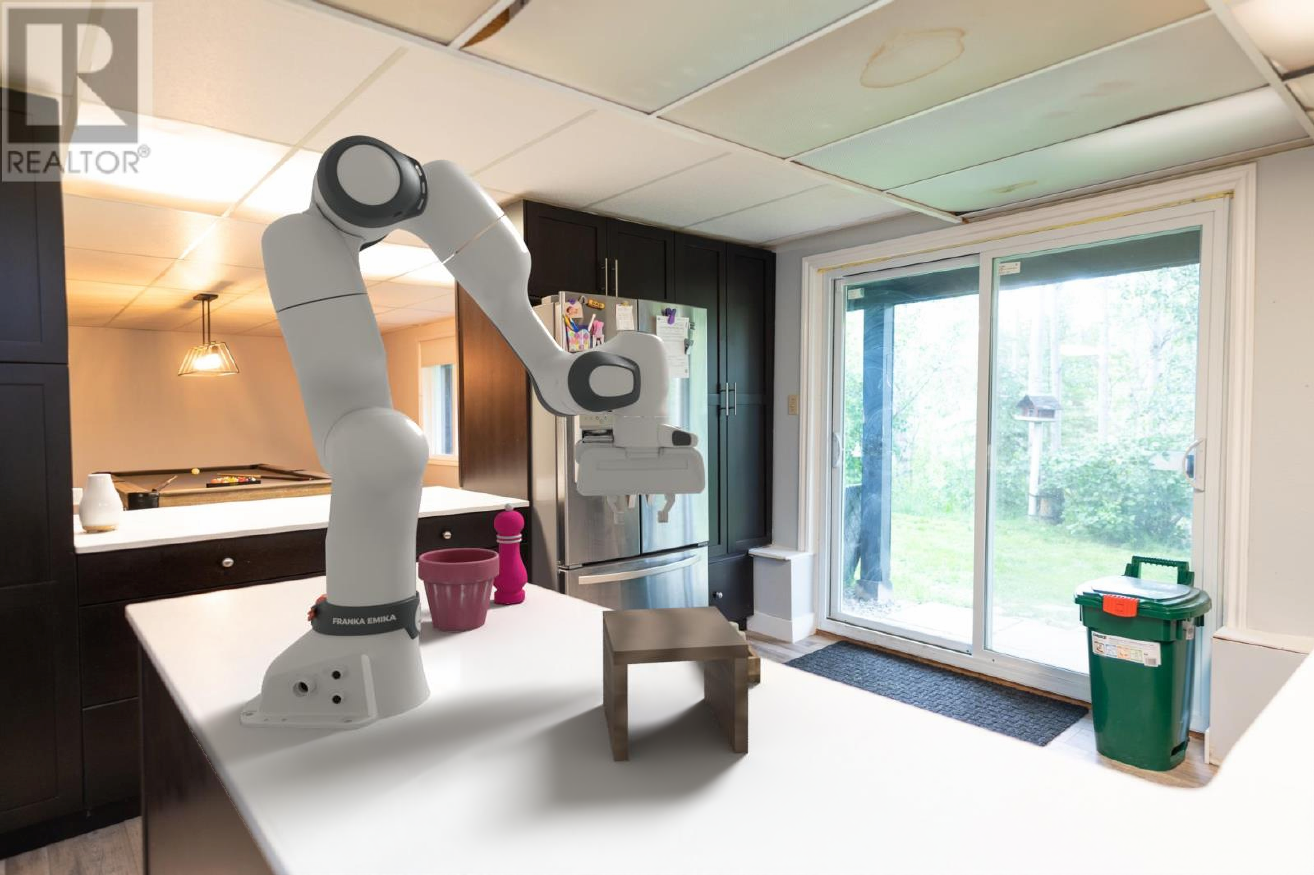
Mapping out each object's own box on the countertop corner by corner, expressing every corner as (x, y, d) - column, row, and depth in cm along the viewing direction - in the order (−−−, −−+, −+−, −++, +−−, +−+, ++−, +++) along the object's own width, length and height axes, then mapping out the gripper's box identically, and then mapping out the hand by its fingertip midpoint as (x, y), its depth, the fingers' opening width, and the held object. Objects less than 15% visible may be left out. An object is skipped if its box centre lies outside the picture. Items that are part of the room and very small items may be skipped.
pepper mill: (519, 605, 142) (518, 505, 141) (485, 603, 143) (484, 504, 143) (532, 596, 149) (532, 501, 148) (500, 594, 150) (499, 500, 150)
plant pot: (516, 621, 131) (515, 552, 131) (457, 641, 119) (456, 566, 119) (462, 609, 139) (461, 544, 138) (401, 628, 127) (400, 557, 126)
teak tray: (718, 684, 100) (719, 641, 100) (696, 643, 118) (696, 606, 118) (760, 682, 101) (760, 639, 101) (732, 642, 119) (732, 605, 119)
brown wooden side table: (614, 765, 77) (613, 651, 77) (603, 705, 93) (602, 611, 93) (748, 755, 79) (748, 644, 79) (715, 698, 95) (715, 606, 95)
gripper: (575, 436, 107) (575, 527, 107) (708, 435, 110) (707, 524, 110) (573, 435, 113) (574, 521, 114) (699, 434, 116) (699, 518, 117)
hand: (641, 523), depth 112 cm, fingers open, 6 cm apart
